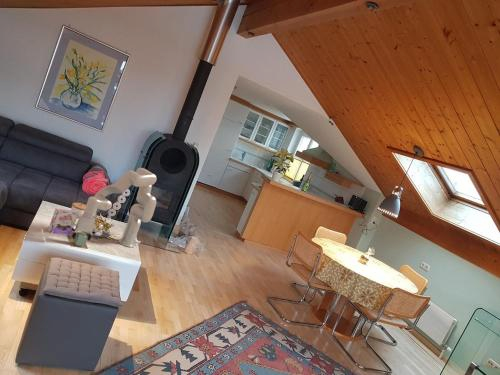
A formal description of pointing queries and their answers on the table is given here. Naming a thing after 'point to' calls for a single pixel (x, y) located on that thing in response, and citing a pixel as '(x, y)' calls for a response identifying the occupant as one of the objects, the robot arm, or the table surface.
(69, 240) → the walnut board
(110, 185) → the robot arm
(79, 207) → the lidded bowl
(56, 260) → the table surface
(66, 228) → the candy box
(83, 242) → the mint green cube
